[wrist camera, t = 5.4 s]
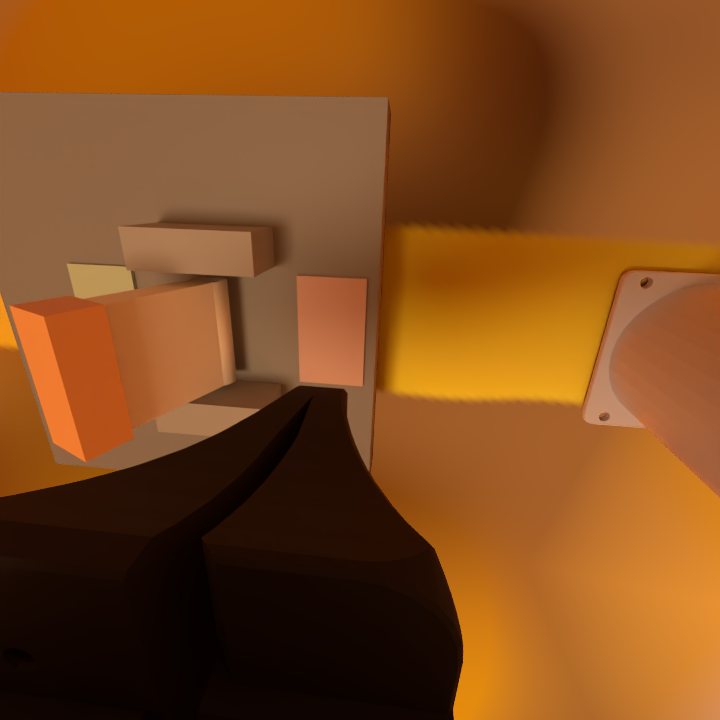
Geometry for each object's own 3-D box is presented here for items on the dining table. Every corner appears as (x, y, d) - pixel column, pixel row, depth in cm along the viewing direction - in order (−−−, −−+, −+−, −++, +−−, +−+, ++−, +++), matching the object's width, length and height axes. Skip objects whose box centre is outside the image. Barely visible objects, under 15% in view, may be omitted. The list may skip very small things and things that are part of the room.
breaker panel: (391, 113, 17) (385, 76, 12) (372, 459, 24) (363, 530, 19) (5, 107, 18) (-148, 72, 13) (94, 434, 25) (16, 493, 20)
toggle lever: (239, 277, 16) (43, 316, 11) (248, 381, 18) (85, 462, 12) (205, 272, 17) (9, 305, 11) (217, 371, 19) (53, 442, 13)
